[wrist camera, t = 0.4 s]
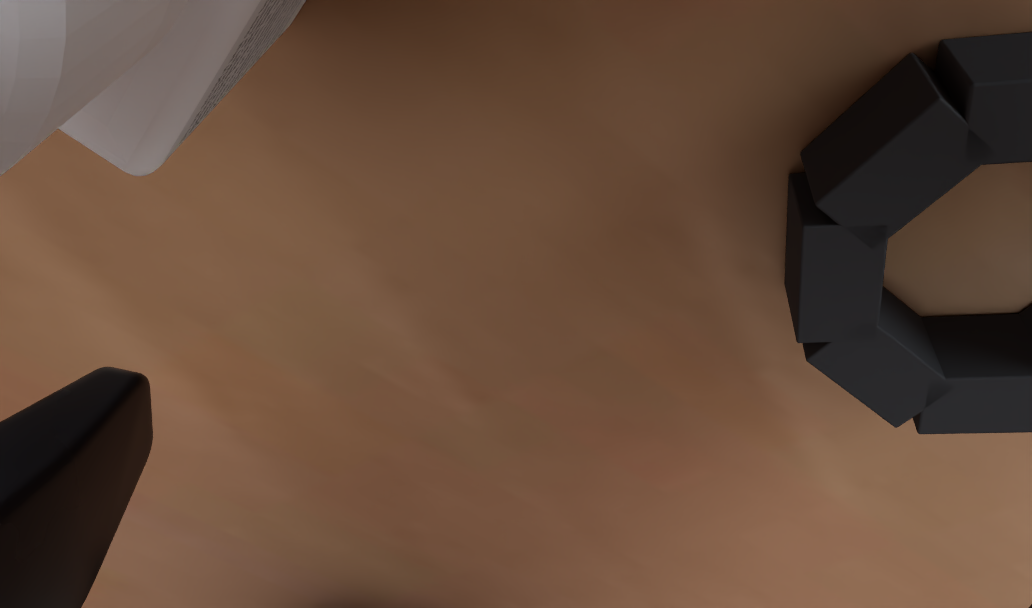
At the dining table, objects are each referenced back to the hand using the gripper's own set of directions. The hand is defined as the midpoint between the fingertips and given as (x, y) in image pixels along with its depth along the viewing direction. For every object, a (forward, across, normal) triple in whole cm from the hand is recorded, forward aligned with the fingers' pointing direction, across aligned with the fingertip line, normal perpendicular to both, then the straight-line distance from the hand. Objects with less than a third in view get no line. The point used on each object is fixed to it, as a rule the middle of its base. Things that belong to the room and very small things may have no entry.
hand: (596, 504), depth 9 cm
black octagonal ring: (+14, -10, +3) cm, 17 cm away
